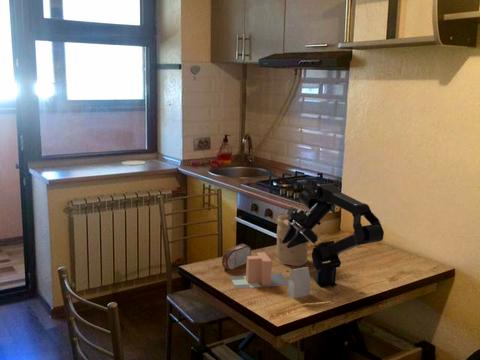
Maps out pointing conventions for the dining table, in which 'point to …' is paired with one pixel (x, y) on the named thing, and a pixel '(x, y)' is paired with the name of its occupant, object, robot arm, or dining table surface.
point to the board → (242, 283)
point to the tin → (236, 256)
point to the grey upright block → (299, 282)
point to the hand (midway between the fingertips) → (285, 245)
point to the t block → (259, 269)
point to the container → (289, 255)
